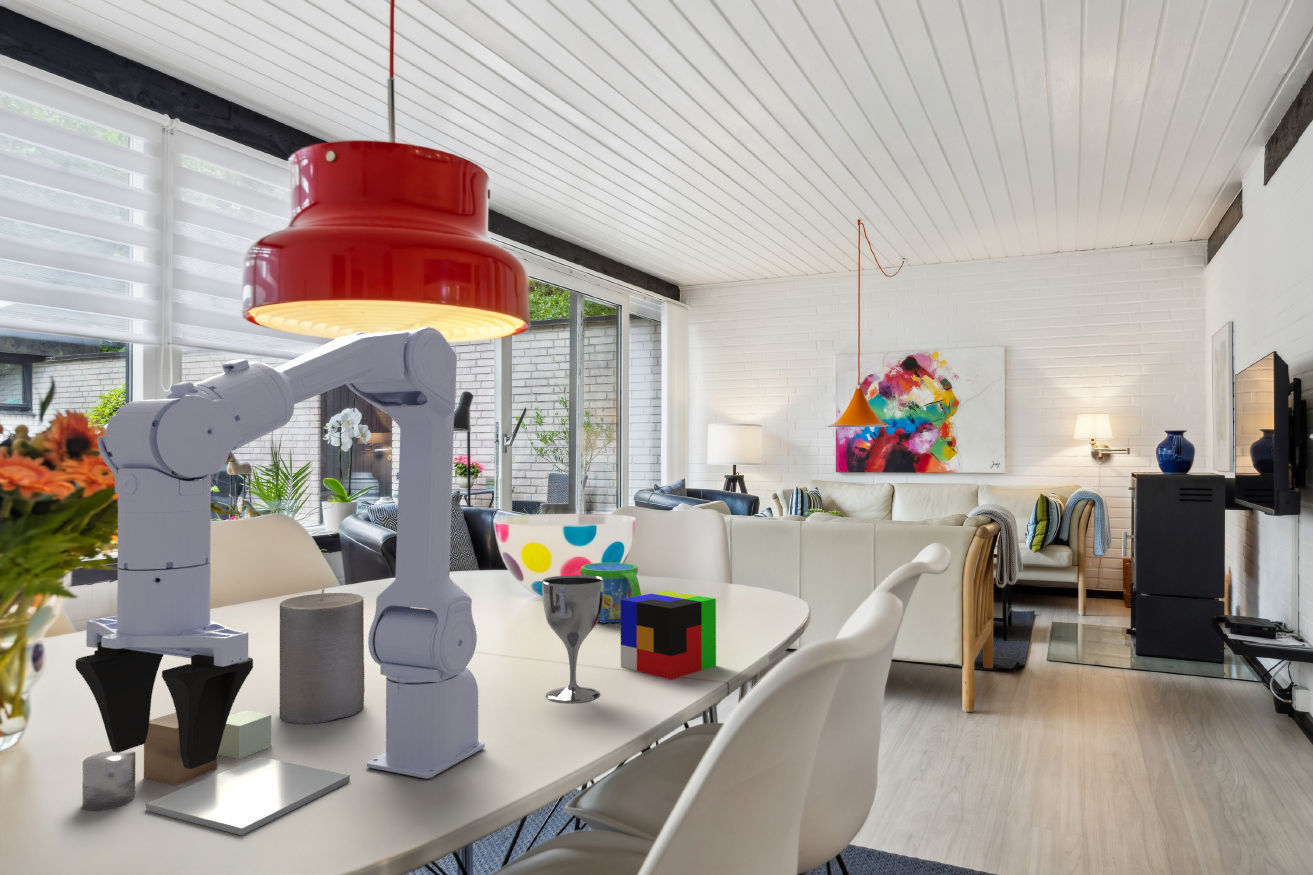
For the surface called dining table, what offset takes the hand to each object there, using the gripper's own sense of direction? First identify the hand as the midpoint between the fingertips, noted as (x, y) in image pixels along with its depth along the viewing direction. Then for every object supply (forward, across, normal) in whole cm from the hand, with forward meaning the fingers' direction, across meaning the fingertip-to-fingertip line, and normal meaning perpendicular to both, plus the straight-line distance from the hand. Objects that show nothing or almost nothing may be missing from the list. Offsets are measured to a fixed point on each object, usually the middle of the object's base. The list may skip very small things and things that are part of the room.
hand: (163, 755), depth 58 cm
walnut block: (+10, -20, +16) cm, 28 cm away
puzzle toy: (+10, +9, +72) cm, 73 cm away
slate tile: (+10, -9, +15) cm, 20 cm away
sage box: (+10, -20, +23) cm, 32 cm away
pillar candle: (+10, -22, +36) cm, 43 cm away
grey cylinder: (+10, -20, +9) cm, 24 cm away
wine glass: (+10, +3, +54) cm, 55 cm away
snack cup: (+10, -14, +98) cm, 100 cm away
